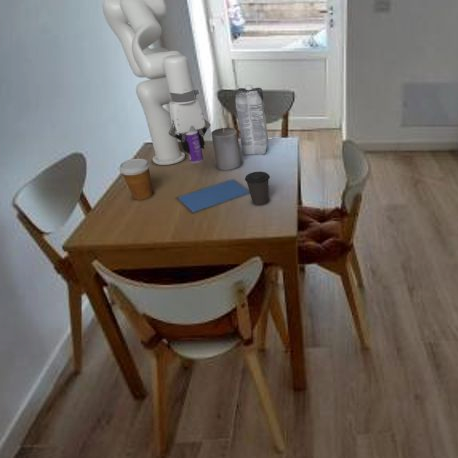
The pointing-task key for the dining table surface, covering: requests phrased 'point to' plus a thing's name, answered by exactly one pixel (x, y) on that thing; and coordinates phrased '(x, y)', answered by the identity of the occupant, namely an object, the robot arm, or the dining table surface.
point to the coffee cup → (258, 187)
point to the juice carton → (251, 120)
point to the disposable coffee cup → (137, 177)
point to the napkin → (212, 195)
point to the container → (194, 146)
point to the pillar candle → (226, 148)
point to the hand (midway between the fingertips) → (194, 149)
